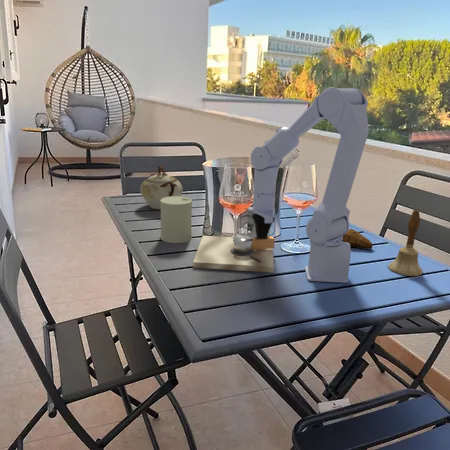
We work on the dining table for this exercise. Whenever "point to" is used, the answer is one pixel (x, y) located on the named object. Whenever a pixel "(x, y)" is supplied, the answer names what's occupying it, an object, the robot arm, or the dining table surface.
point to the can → (176, 219)
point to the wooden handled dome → (252, 244)
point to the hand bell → (408, 251)
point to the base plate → (231, 256)
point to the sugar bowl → (160, 188)
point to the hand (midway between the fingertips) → (261, 240)
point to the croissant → (357, 240)
